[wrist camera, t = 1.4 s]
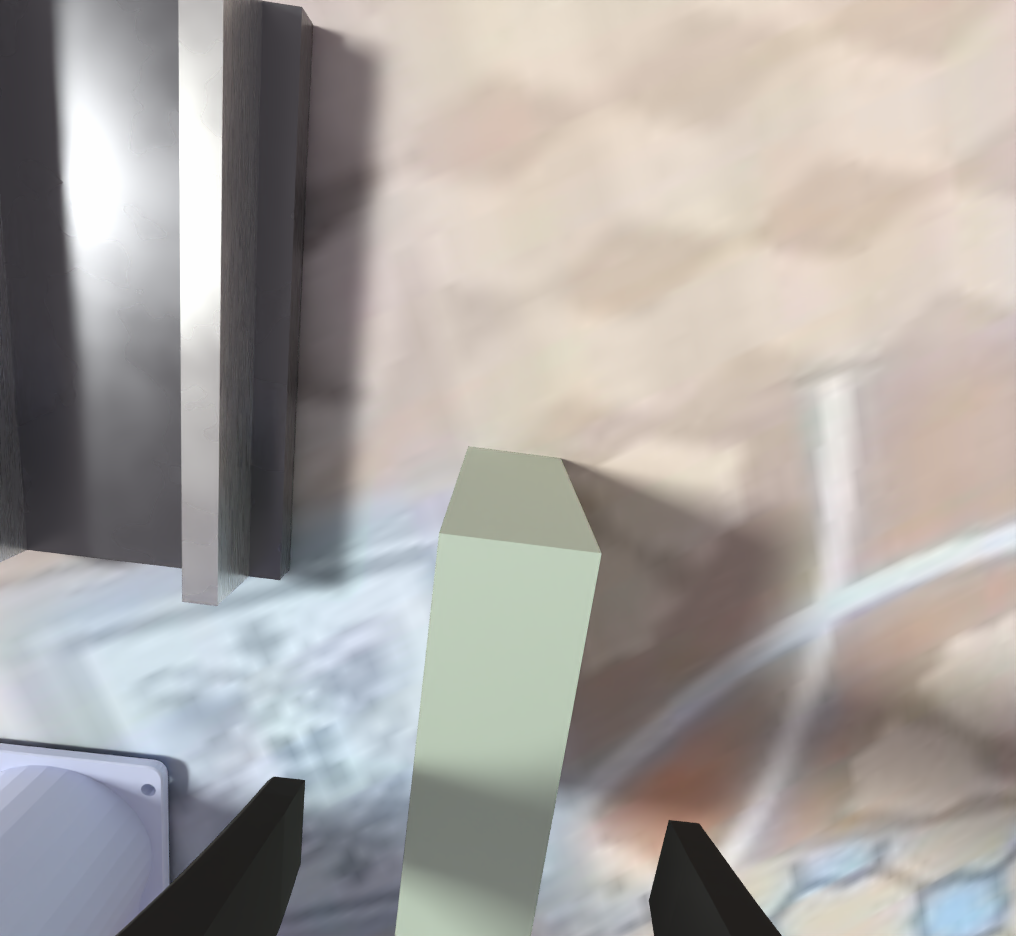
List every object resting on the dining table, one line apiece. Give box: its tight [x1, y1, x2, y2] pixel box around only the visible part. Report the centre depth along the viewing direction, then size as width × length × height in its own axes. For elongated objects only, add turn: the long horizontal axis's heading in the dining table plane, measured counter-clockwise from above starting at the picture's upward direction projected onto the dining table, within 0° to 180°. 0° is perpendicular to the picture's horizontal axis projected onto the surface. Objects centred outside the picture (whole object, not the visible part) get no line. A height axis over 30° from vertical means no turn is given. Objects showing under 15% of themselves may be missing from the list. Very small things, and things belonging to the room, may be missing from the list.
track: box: [0, 0, 313, 606], centre depth 15 cm, size 10×16×3 cm, turn 172°
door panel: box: [395, 446, 602, 936], centre depth 15 cm, size 12×3×8 cm, turn 172°
